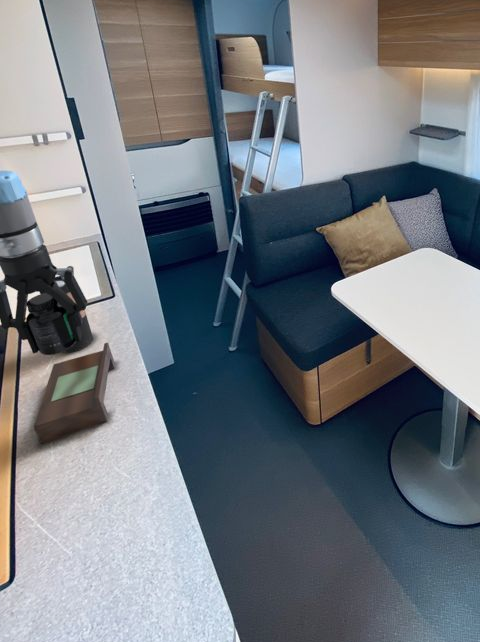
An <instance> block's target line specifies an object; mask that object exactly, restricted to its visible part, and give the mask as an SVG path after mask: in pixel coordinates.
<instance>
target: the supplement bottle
mask: <svg viewBox="0 0 480 642" xmlns="http://www.w3.org/2000/svg"><path fill="white" fill-rule="evenodd" d="M26 304H27V312H28V314H27V316H26V317H25V318H26V319H25V322H26V321H27V324H28V327H29V329H30V331H31V334H32V336H33V338H34V341H35V343H36V345H37V348H38V350H39V351H38V353H40V354H41V355H44V356H54V355H57V354H58V355H59V354H61V353H63V352H66V351H65V350H67V349H69V348H70V347H72V346H73V345H74V344H75V342H76V341H75V338H74V335H73V333H72V330H71V327H70V325H69V322H68V319H67V316H68V312H67V311H66V310H65V309H64V308H63V307H62V306H61V305H60V304H59V303H58V302H57V301H56V300H55V299H54V298H53V297H52V296H51V295H48V294H47V293H44V294H40V293H39V294H38V295H35V296H33V297H31V298H30V299H29V298H28V300H27V303H26Z"/></svg>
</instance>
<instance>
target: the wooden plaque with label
mask: <svg viewBox="0 0 480 642" xmlns="http://www.w3.org/2000/svg"><path fill="white" fill-rule="evenodd" d="M115 366H116V362H115V359H114V356H113V353H112V350H111V348H110V344H109V342H104V344H103V350H99V351H96V352H93V353H92V352H91V353H89V354H86V355H81V356H78V357H74V358H70V359H67V360H63V361H60V362H57V363H54V364H52V369H51V371H50V375H49V376H48V380H47V384H46V387H45V389H44V392H43V396H42V398H41V402H40V405H39V408H38V411H37V414H36V418H35V421H34V424H33V429H34V431H35V434H36V435H37V437H38V439H39V441H40V444H45V443H48V442H51V441H53V440H58V439H60V438H62V437H66V436H68V435H72V434H75V433H77V432H80V431H83V430H86V429H89V428H92V427H95V426H99V425H101V424H104V423H106V422H108V418H109V413H108V410H107V407H106V405H105V396H106V390H107V389H106V388H107V382H108V376H109V371H110V370H114V369H115Z"/></svg>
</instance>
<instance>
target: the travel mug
mask: <svg viewBox="0 0 480 642" xmlns="http://www.w3.org/2000/svg"><path fill="white" fill-rule="evenodd" d="M54 280H55V281H56V282H57V284H58V286H59V287H60V288H61V289H62V290H63V291H64V292H65V293H66V294H67V295H68V296H69V297H70V298H71V299H72V300H73V301H74V302H75V300H74V299H73V297H72V295H71V293H70V291H69V289H68V287H67V286H66V284H65V279H62V278H61V277H60V276H59V275H56V276H55V278H54ZM44 293H46V292H45V291H41V292H39V295H40V294H44ZM75 303H76V302H75ZM80 314H81V317H82V319H83V321H82V325H81V326H79V327H80V330H81V332H82V337H81V340H80V342H75V344H74V345H73V346H72V347H70V348H69V349H67V350H65V351H64V352H67V353H74V352H78V351H81V350H84V349H85V348H86V347H88V346H89V345H91V344H92V342H93V341H94V336H93V333H92V329H91V326H90V323H89V320H88V316H87V313H86V309H85V310H83V311H80Z"/></svg>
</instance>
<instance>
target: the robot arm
mask: <svg viewBox="0 0 480 642" xmlns="http://www.w3.org/2000/svg"><path fill="white" fill-rule="evenodd" d="M44 243H45V240H44V237H43V234H42V232H41V229H40V227H39V225H38V222H37V220H36V216H35V213H34V211H33V208H32V204H31V202H30V198H29V196H28V192H27V189H26V188H25V186H24V184H23V182H22V180H21V178H20V176H19V174H18V173H17V172H15V171H12V170H0V269H1V271H2V273H3V275H4V278H3V279H1V280H0V325H1V328H2V329H3V330H8V329H10V328H12V329H16V331H17V333H18V336H19V338H20V339H21V340H22V341H27V342H28V345H29V347H30V349H31V351H32V354H38V353H39V350H38V348H37V345H36V343H35V341H34V338H33V336H32V334H31V331H30V329H29V327H28V324H27V321H26V318H27V316H26V315H27V309H28V307H27V304H26V303H27V302H28V300H29V295H32V294H34V293H37V292H38V293H40V292H41V291H45V292H46V293H47V294H48V295H51V296H52V297H53V298H54V299H55V300H56V301H57V302H58V303H59V304H60V305H61V306H62V307H63V308H64V309H65V310H66V311H67V312H68V316H67V319H68V322H69V325H70V327H71V330H72V333H73V335H74V338H75V341H76V342H80V340H81V337H82V332H81V330H80V327H79V326H81V325H82V321H83V319H82V317H81V314H80V311H83V310H85V311H86V309H87V305H88V300H87V298H86V296H85V294H84V292H83V291H82V288H81V286H80V285H79V283H78V281H77V279H76V277H75V273H74V272H75V270H74V269H75V268H74V266H73V265H67V267H66V268H65V267H64V268H59V267H57V266H56V265H54V264H53V262H52V259H51V256H50V254H49V251H48V249H47V246H46V245H45V244H44ZM57 276H60V277H61V278H62V279H65V284H66V286H67V287H68V289H69V291H70V293H71V295H72V297H73V299H74V300H75V302H76V303H75V302H74V301H73V300H72V299H71V298H70V297H69V296H68V295H67V294H66V293H65V292H64V291H63V290H62V289H61V288H60V287H59V286H58V284H57V282H56V281H55V280H54V278H55V277H57ZM7 286H8V287H10V288H11V289H13V290H15V291H17V294H16V307H15V317H14V316H13V313H12V309H11V304H10V300H9V296H8V292H7Z"/></svg>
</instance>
